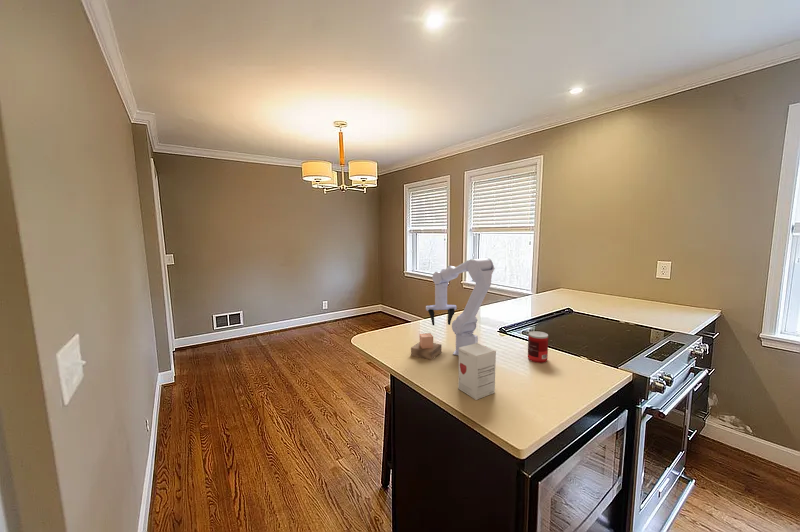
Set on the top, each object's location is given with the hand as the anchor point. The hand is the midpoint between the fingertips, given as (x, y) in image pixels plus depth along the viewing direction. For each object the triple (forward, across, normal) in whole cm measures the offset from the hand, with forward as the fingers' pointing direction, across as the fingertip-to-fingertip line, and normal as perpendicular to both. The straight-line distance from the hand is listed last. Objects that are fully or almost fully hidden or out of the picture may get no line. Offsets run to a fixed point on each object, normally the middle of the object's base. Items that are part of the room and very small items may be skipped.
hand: (441, 324), depth 156 cm
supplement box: (+10, -2, +47) cm, 48 cm away
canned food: (+10, -36, +24) cm, 44 cm away
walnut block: (+10, +9, +12) cm, 18 cm away
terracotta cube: (+6, +9, +12) cm, 16 cm away
